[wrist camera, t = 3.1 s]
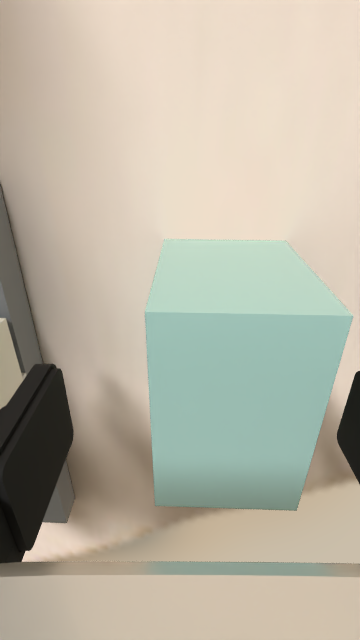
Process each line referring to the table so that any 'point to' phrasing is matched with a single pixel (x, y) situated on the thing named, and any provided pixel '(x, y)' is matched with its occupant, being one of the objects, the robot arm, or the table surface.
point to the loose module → (238, 372)
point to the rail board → (22, 350)
